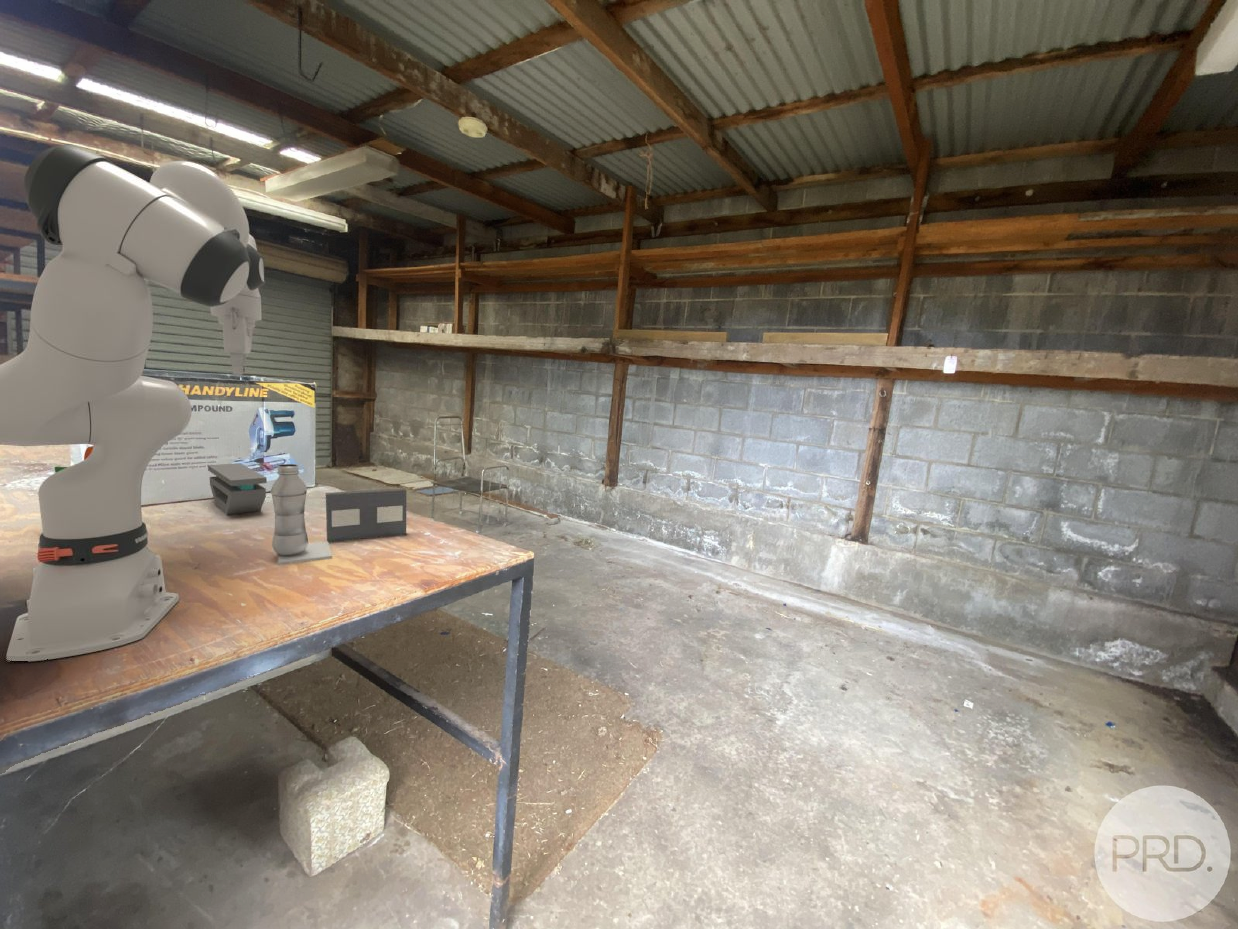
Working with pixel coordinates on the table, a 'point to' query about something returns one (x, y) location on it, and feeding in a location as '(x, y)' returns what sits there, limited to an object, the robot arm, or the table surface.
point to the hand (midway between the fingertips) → (239, 374)
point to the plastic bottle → (289, 511)
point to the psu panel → (365, 514)
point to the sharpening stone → (237, 488)
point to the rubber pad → (308, 554)
